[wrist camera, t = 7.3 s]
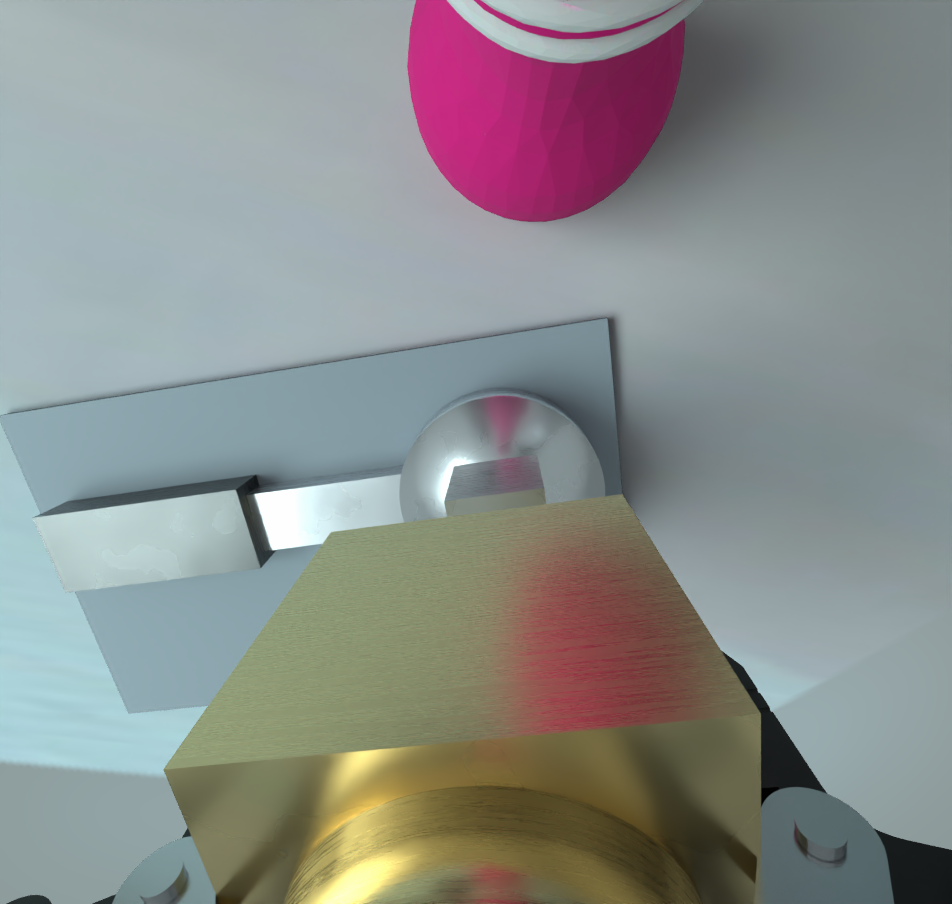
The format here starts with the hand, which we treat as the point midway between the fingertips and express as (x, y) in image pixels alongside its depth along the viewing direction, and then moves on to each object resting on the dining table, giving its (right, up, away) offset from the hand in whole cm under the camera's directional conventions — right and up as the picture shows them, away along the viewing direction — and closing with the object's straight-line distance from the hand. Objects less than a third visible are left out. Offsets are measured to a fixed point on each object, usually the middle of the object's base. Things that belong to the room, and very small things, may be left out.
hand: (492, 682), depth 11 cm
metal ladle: (-7, +2, +12) cm, 14 cm away
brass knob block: (0, 0, +1) cm, 1 cm away
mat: (-7, +1, +13) cm, 15 cm away
